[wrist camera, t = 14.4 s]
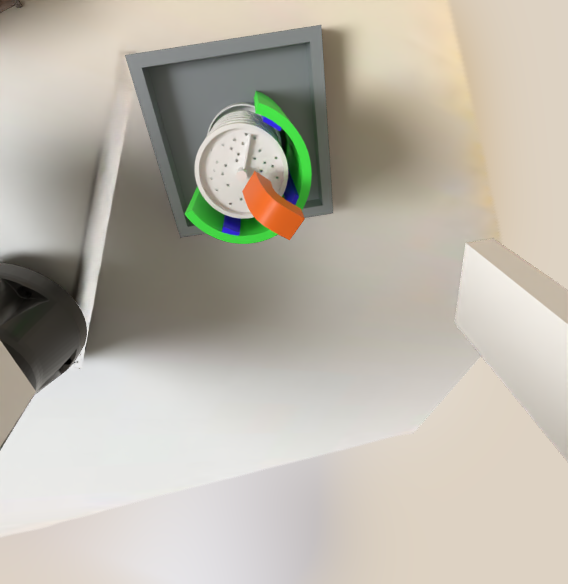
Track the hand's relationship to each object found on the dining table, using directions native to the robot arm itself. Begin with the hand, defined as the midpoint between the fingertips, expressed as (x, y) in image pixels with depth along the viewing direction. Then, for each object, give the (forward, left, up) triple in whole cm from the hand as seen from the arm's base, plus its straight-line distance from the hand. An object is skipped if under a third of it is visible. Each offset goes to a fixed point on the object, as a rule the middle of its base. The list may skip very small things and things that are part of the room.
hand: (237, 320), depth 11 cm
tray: (0, 0, -31) cm, 31 cm away
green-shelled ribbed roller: (+1, 0, -30) cm, 30 cm away
